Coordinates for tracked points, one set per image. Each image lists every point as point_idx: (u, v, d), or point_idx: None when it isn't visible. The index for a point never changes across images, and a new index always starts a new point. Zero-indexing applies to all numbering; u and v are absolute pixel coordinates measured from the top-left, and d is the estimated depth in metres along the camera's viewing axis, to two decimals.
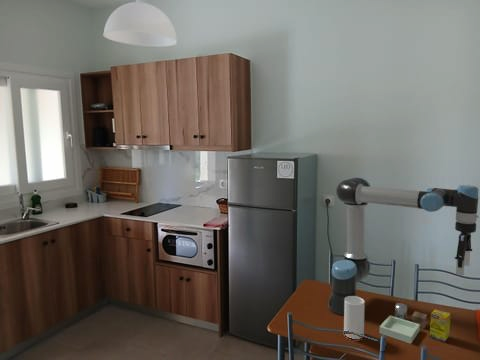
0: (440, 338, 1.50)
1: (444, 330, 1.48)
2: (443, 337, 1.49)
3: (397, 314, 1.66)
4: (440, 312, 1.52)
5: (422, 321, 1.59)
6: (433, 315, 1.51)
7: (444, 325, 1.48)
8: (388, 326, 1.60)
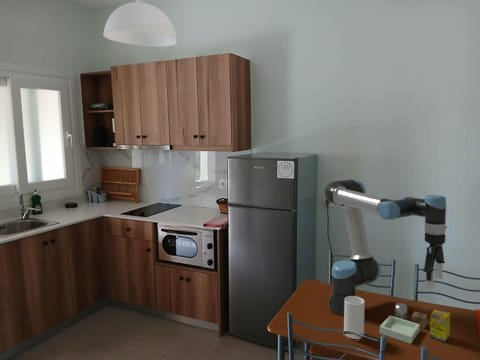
0: (440, 338, 1.50)
1: (444, 330, 1.48)
2: (443, 337, 1.49)
3: (397, 314, 1.66)
4: (440, 312, 1.52)
5: (422, 321, 1.59)
6: (433, 315, 1.51)
7: (444, 325, 1.48)
8: (388, 326, 1.60)
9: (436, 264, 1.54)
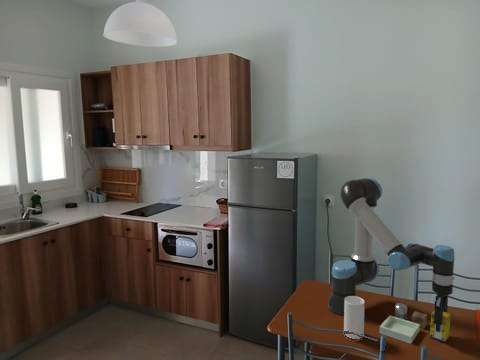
0: (440, 339, 1.50)
1: (444, 330, 1.48)
2: (443, 337, 1.49)
3: (397, 314, 1.66)
4: None
5: (422, 321, 1.59)
6: (433, 315, 1.51)
7: (444, 325, 1.48)
8: (388, 326, 1.60)
9: None
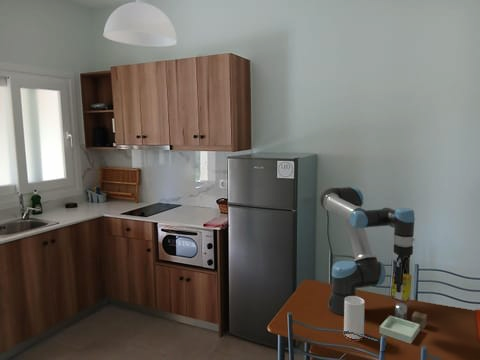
0: None
1: (405, 291, 1.51)
2: (404, 297, 1.52)
3: (397, 314, 1.66)
4: None
5: (422, 321, 1.59)
6: None
7: (404, 286, 1.51)
8: (388, 326, 1.60)
9: None
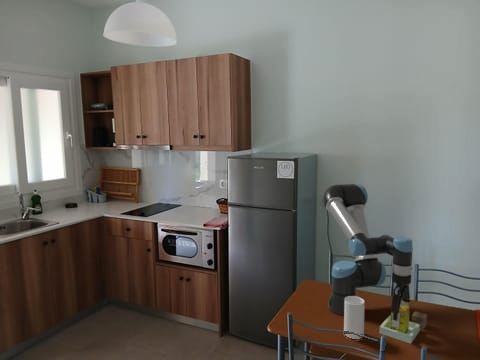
0: (399, 331, 1.54)
1: (403, 323, 1.53)
2: (402, 329, 1.53)
3: None
4: (400, 305, 1.56)
5: (422, 321, 1.59)
6: None
7: (403, 318, 1.52)
8: (388, 326, 1.60)
9: (402, 303, 1.61)
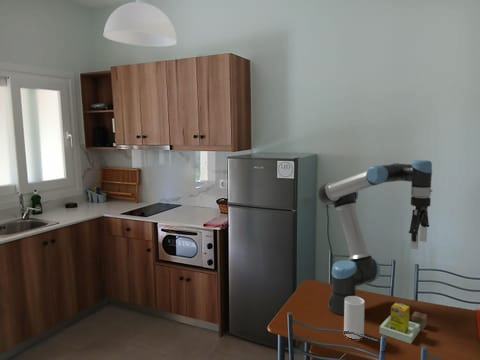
0: (399, 331, 1.54)
1: (403, 323, 1.53)
2: (402, 329, 1.53)
3: None
4: (400, 305, 1.56)
5: (422, 321, 1.59)
6: (393, 308, 1.55)
7: (403, 318, 1.52)
8: (388, 326, 1.60)
9: (421, 228, 1.60)
